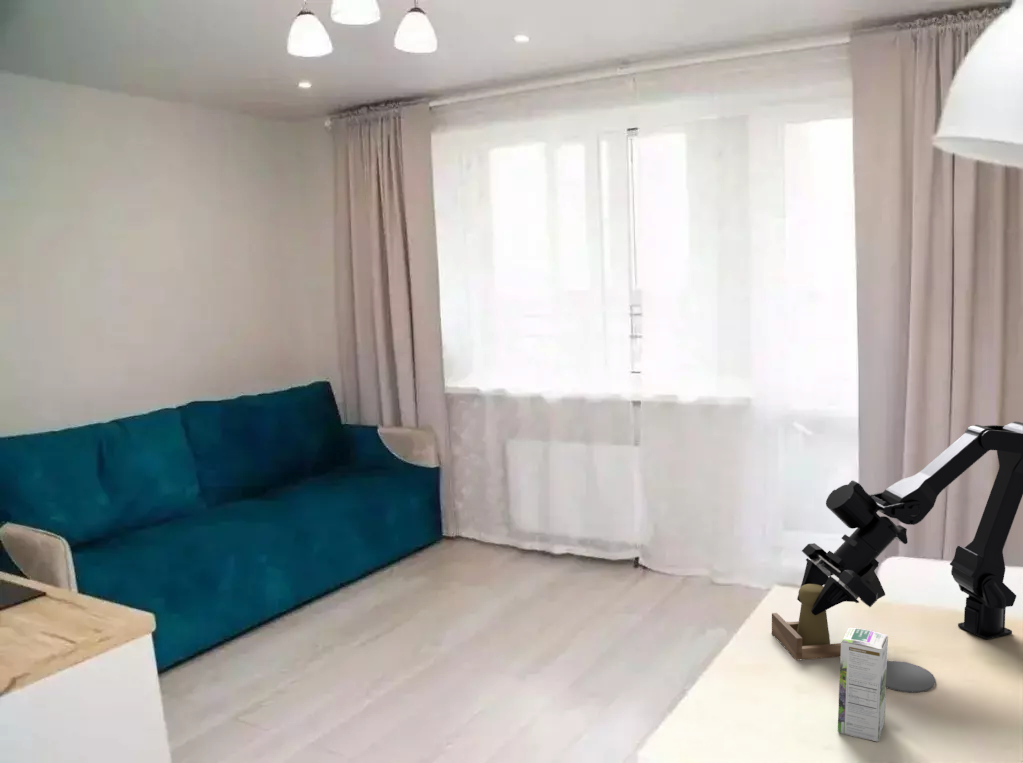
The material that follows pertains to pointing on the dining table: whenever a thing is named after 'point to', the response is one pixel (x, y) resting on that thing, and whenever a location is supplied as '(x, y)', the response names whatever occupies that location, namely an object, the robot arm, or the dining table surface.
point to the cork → (812, 617)
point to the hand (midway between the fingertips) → (805, 607)
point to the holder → (800, 641)
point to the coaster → (908, 677)
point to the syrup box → (862, 683)
